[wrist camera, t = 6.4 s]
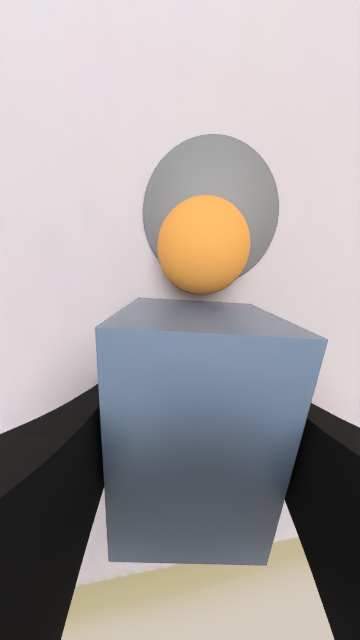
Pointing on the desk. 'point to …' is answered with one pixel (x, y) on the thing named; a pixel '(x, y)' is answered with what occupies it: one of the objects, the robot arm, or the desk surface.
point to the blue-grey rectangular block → (200, 427)
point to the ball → (203, 244)
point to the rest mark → (215, 187)
